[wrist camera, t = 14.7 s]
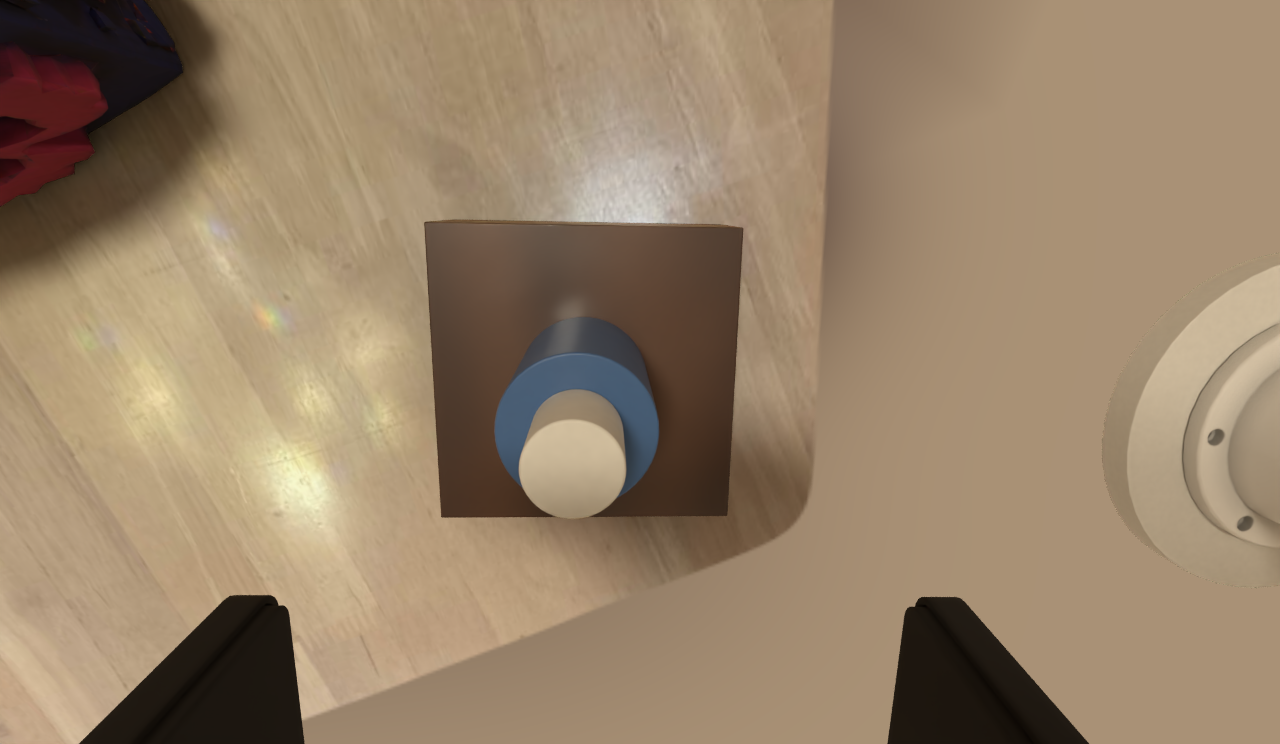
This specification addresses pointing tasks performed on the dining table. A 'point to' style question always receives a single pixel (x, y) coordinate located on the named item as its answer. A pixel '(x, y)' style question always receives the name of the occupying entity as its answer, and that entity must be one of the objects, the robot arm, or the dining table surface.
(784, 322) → the dining table surface
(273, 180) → the dining table surface
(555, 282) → the block
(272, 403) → the dining table surface
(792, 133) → the dining table surface
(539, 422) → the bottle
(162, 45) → the decorative cube
